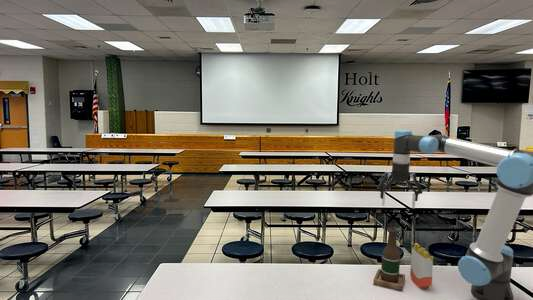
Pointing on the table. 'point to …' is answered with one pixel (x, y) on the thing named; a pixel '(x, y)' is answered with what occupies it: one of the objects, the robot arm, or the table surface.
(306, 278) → the table surface
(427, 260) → the french fries container
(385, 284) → the wooden tray
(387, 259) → the beer bottle
